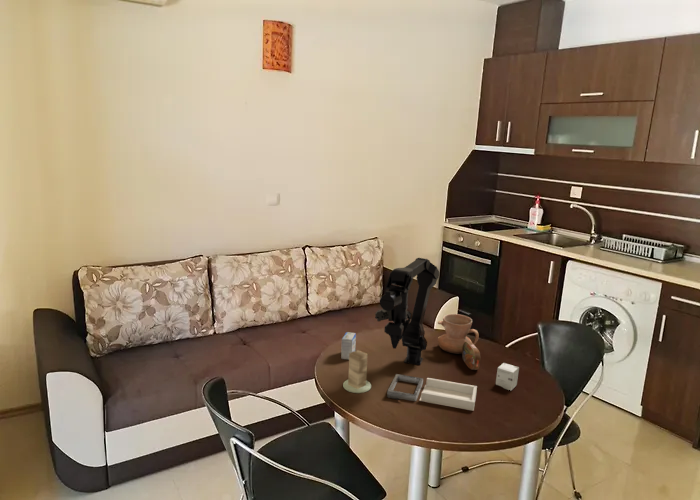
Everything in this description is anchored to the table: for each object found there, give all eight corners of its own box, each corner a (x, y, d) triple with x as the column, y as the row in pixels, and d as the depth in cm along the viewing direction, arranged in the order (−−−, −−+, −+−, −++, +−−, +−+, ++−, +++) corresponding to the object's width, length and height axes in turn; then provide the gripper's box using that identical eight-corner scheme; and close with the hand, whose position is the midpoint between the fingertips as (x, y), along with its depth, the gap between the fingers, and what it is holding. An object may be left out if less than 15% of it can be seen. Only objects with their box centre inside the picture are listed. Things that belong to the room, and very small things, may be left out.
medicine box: (351, 360, 204) (352, 340, 203) (340, 359, 205) (341, 338, 203) (355, 352, 212) (356, 332, 210) (344, 351, 213) (345, 331, 211)
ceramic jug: (429, 350, 217) (432, 318, 214) (442, 339, 229) (445, 309, 226) (470, 362, 208) (473, 329, 204) (481, 350, 220) (485, 319, 216)
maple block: (356, 380, 186) (358, 349, 183) (365, 385, 183) (367, 353, 180) (348, 384, 183) (349, 353, 180) (357, 389, 180) (358, 357, 177)
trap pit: (395, 380, 189) (396, 373, 188) (422, 384, 186) (423, 378, 185) (387, 397, 176) (387, 390, 175) (415, 403, 173) (416, 396, 172)
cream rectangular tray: (425, 386, 185) (425, 377, 184) (476, 395, 180) (477, 386, 179) (419, 402, 174) (420, 392, 173) (473, 412, 168) (474, 402, 168)
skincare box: (495, 386, 187) (497, 367, 186) (501, 380, 192) (503, 362, 191) (511, 391, 184) (513, 372, 182) (517, 385, 189) (519, 366, 187)
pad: (348, 377, 189) (348, 376, 189) (374, 382, 186) (374, 381, 186) (339, 390, 180) (339, 388, 180) (366, 395, 177) (366, 393, 177)
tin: (460, 357, 211) (462, 338, 210) (468, 357, 212) (470, 338, 210) (472, 373, 197) (474, 353, 195) (480, 373, 197) (482, 353, 195)
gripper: (384, 293, 197) (382, 332, 200) (371, 308, 179) (369, 349, 183) (412, 297, 194) (410, 336, 197) (402, 312, 176) (399, 354, 180)
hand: (397, 343), depth 189 cm, fingers open, 9 cm apart
